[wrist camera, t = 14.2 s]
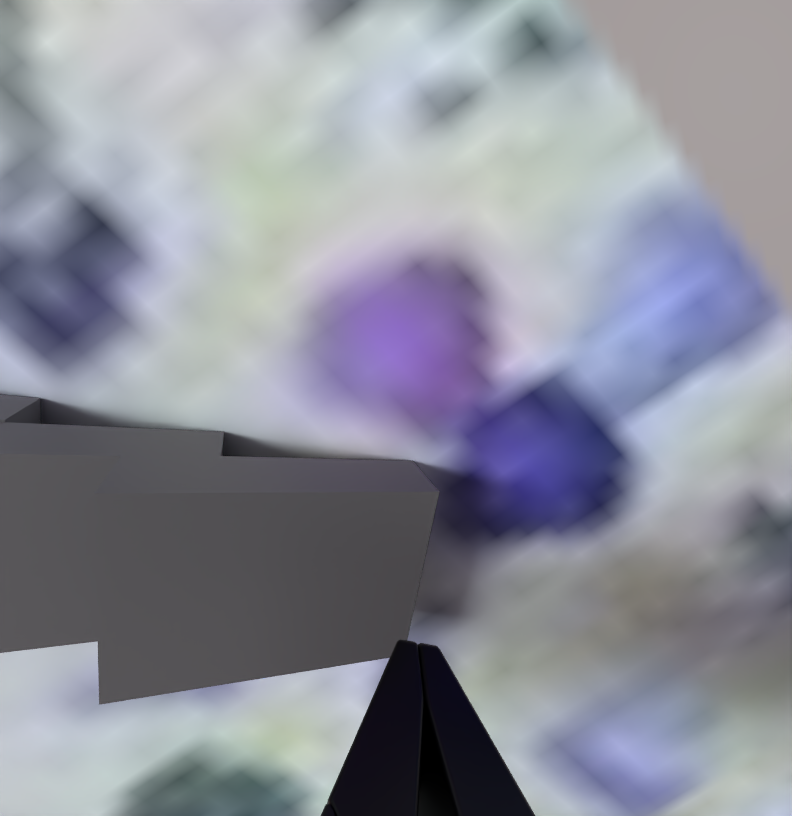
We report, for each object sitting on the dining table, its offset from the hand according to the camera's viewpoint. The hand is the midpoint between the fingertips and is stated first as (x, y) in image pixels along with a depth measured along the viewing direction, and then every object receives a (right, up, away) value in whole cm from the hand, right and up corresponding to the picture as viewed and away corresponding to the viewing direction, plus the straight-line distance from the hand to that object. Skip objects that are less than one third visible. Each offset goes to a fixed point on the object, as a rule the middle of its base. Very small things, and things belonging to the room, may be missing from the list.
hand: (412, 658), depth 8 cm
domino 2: (0, +1, +3) cm, 3 cm away
